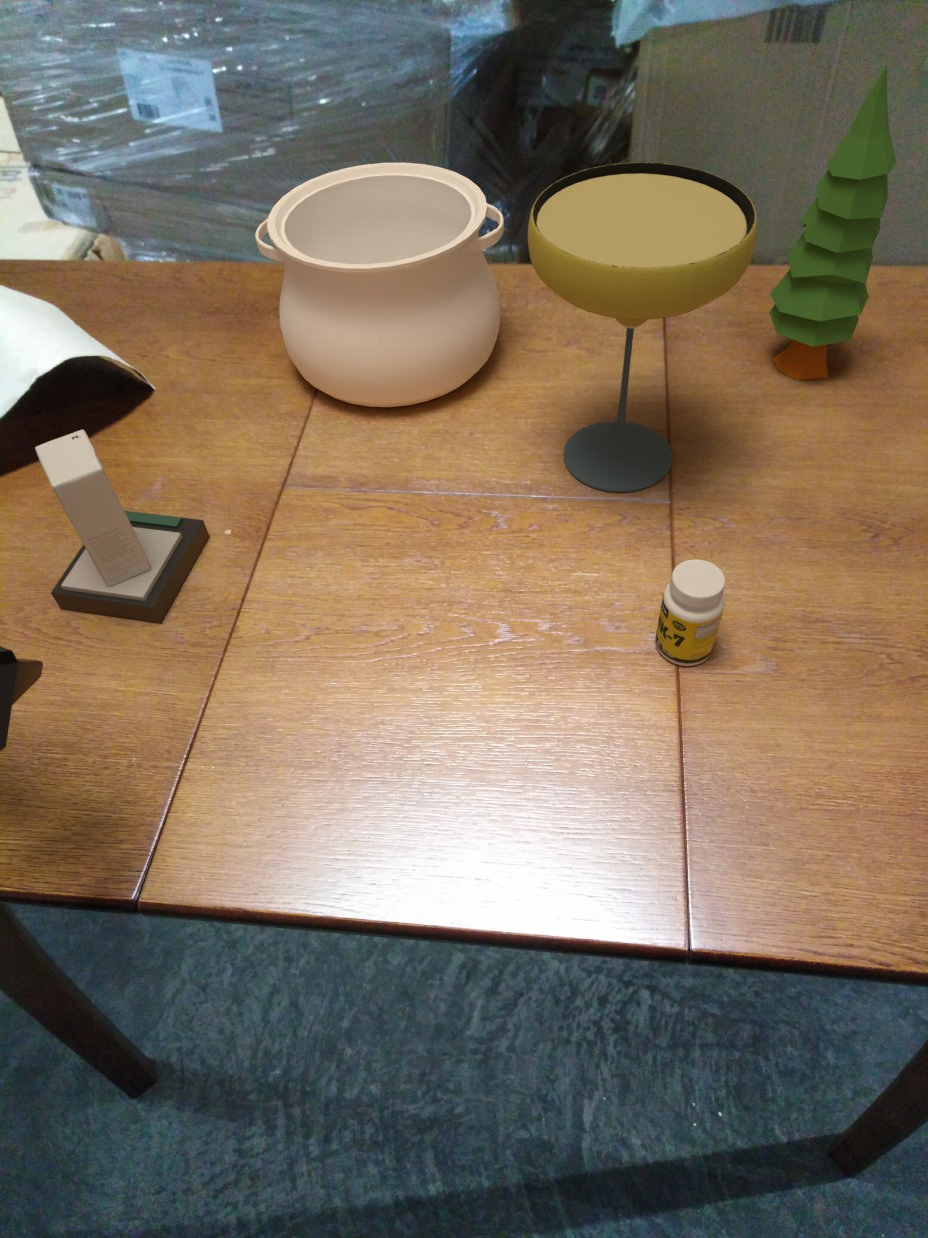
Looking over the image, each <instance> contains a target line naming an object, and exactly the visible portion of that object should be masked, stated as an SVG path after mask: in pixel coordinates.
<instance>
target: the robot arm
mask: <svg viewBox="0 0 928 1238" xmlns="http://www.w3.org/2000/svg"><path fill="white" fill-rule="evenodd" d="M43 666H44V663H43V661H41V660H38V659H37V660H36V659H29V658H28V659H27V658H17V657H16V655H15V653H14V651H13V650H12V649H9V648H7V647H3V646H2V645H0V752H1V751H3V750H4V749H6V748H7V742H8V736H9V730H10V729H9V728H10V723H11V715H12V709H13V708H12V707H13V705H14V704H16V703H17V701H18V700H19V699H21V698H22V696H24V694H26V692H27V691H28V690H30V689H31V687H32V686H33V685H35V684H36V683H37V682H38V680H39V679H40V678H41V677H42V675H43V668H44V667H43Z"/></svg>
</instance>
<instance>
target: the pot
mask: <svg viewBox="0 0 928 1238" xmlns="http://www.w3.org/2000/svg"><path fill="white" fill-rule="evenodd" d="M486 218H488V219H491V220H493V221H494V222H497V224H498V226H497V228H495V229H493V230H492V231H490V232H488V233H485V234H484V235H481V236H479V231H480V230H481V228H482V227H483V225H484V223H485V221H486ZM504 230H505V222H504V215H503V213H502V212H501V211H500V210H499V208H497V207H496V206H494V205H492V204H489V203H487V199H486V196H485V194H484V192H483V191H482V189H481V188H480V187H479V186H478V185H477V184H476V183H474V182H473V181H472V180H471V179H470V178H468V177H467V176H464V175H462V174H460V173H459V172H456V171H454V170H450V169H447V168H444V167H440V166H436V165H431V164H430V165H429V164H425V163H417V162H416V163H415V162H377V163H368V164H367V163H366V164H361V165H354V166H350V167H345V168H340V169H337V170H333V171H330V172H327V173H324V174H322V175H321V174H320V175H318V176H316V177H314V178H311V179H309V180H307V181H305V182H303V183H301V184H299V185H297V186H294V188H293V189H291V190H290V191H288V192H287V193H285V194H284V195H283V196H282V197H281V198H280V199H279V200H278V201H277V202H276V203H275V205H274V206H273V207H272V209H271V211H270V212H269V214H268V216H267V218H266V219H264V221H263V222H261V223H260V224H259V226H257V229H256V230H255V235H254V237H255V242H256V246H257V249H258V250H259V253H260V254H261V255H262V256H263V257H265V258H268V259H270V260H274V261H276V262H281V263H284V276H283V281H282V285H281V291H280V294H279V305H278V306H279V307H278V308H279V309H278V310H279V312H278V313H279V314H278V315H279V328H280V332H281V336H282V338H283V342H284V346H285V349H286V352H287V353H286V354H287V355H288V357H289V359H290V360H291V361H292V363H293V364H294V366H295V367H296V369H297V371H298V372H299V374H301V376H302V377H303V379H304V380H305V381H307V382H308V383H309V384H310V385H311V386H313V387H314V388H316V389H317V390H319V391H321V392H323V393H324V394H326V395H328V396H330V397H332V398H334V399H336V400H339V401H342V402H345V403H349V404H352V405H357V406H364V407H371V408H394V407H395V408H397V407H405V406H412V405H415V404H420V403H425V402H429V401H432V400H434V399H437V398H440V397H442V396H445V395H447V394H449V393H451V392H452V391H455V390H457V389H458V388H459V387H461V386H463V384H465V383H466V382H468V381H469V380H470V379H471V378H473V376H474V375H475V374H476V373H478V372H479V371H480V369H482V367H483V366H484V365H485V364H486V363H487V361H488V360H489V358H490V356H491V354H492V352H493V350H494V347H495V345H496V342H497V339H498V336H499V332H500V326H501V301H500V296H499V291H498V287H497V283H496V279H495V275H494V273H493V270H492V269H491V267H490V265H489V262H488V260H487V259H486V256H485V254H484V252H483V251H484V250H487V249H489V248H491V247H492V246H494V245H495V244H497V243H498V242H499V240H500V239H501V238H502V237H503V236H504ZM267 234H268V236H269V239H270V242H271V243H272V245H273V246H271V245H269V244H267V243H265V242H264V241H263V240H264V237H265V236H266V235H267Z"/></svg>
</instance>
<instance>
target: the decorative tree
mask: <svg viewBox="0 0 928 1238" xmlns="http://www.w3.org/2000/svg"><path fill="white" fill-rule="evenodd" d="M889 123H890V122H889V105H888V64H885V66H884V68H882V71H881V73H880V74H879V76H878V77H877V78H876V81H875V82H874V84H873V85H872V86H871V88H870V90H869V92H868V93H867V95H866V97H865V99H864V101H863V103H862V105H861V106H860V109H859V111H858V113H857V114H856V117H855V119H854V121H853V123H852V124H851V127H850V128H849V130H848V132H847V133H846V135H845V136H844V138H843V139H842V141H841V142H840V144H839V145H838V146H837V148H836V149H835V151H834V153H833V154H832V156H831V157H830V159H829V160H828V162H827V163H826V165H825V166H826V167H827V170H826V171H825V173H824V174H823V176H822V177H821V178H820V180H819V181H818V183H817V184H816V195H817V196H816V198H815V199H814V200H813V201H812V203H811V205H810V206H809V207H808V209H807V210H806V212H805V213H804V214H803V215H802V217H801V218H800V220H799V221H798V223H799V225H800V226H799V227H800V228H801V227H802V228H804V231H803V232H802V234H801V235H800V237H799V238H798V239H797V240H796V242H795V243H794V244H793V246H792V248H791V249H790V250H789V251H788V253H787V254H786V257H787V262H788V266H789V269H788V270H787V272H786V273H785V274H784V275H783V276H782V278H781V279H780V280H779V282H778V283H777V284H776V285H775V287H774V288H773V289H772V290H771V292H770V293H769V294H770V296H771V298H772V300H773V303H774V305H773V306H772V308H771V309H770V311H769V316H770V319H771V322H772V324H773V327H774V330H775V333H776V335H779V336H780V337H781V336H782V337H783V338H784V337H785V338H787V339H790V340H792V342H791V344H790V345H789V346H788V347H787V348H785V349H784V350H782V351H780V353H778V354H777V355H776V356H774V357H773V358H772V359H771V360H772V362H773V364H774V365H775V367H776V368H777V370H778V371H779V372H780V373H782V374H784V375H786V376H788V377H790V378H792V379H794V380H796V381H806V380H820V379H822V380H823V379H829V373H828V362H827V353H828V349H827V345H830V344H831V345H833V344H838V343H843V342H849V341H851V340H852V337H853V335H854V333H855V331H856V327H857V325H858V322H859V321H860V319H859V318H860V317H859V316H861V315H862V313H863V311H864V308H865V306H866V304H867V302H868V300H869V296H870V295H869V292H868V288H867V282H868V279H869V278H868V277H869V273H870V270H871V267H872V263H873V258H874V255H873V249H872V248H873V245H874V244H875V241H876V240H877V237H878V235H879V233H880V230H881V218H882V217H883V214H884V211H885V208H886V205H887V202H888V199H889V192H888V191H889V190H888V189H889V186H888V184H889V181H888V176H889V175H888V174H889V173H890V172H891V171H892V169H894V166H895V165H896V164H897V158H896V154H895V149H894V145H893V140H892V137H891V132H890V124H889Z"/></svg>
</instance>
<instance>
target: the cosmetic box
mask: <svg viewBox="0 0 928 1238" xmlns="http://www.w3.org/2000/svg"><path fill="white" fill-rule="evenodd" d="M34 449H35V452H36V455H37V457H38V460H39V462H40V465H41V466H42V468H43V470H44V473H45V476H46V477H47V480H48V481H49V484H50V486H51V489H52V491H53V492H54V494H55V496H56V497H57V499H58V501H59V504H60V505H61V507H62V508H63V510H64V513H65V514H66V516H67V518H68V520H69V521H70V523H71V525H72V527H73V529H74V531H75V532H76V534H77V536H78V538H79V539H80V541H81V543H82V546H83V545H84V547H85V548H86V550H87V552H88V554H89V555H90V557H91V559H92V561H93V563H94V565H95V566H96V568H97V570H98V572H99V573H100V575H101V577H102V579H103V581H104V582H105V584H106V586H108V587H111V586H113V585H115V584H117V583H120V582H122V581H124V580H127V579H129V578H131V577H134V576H136V575H138V574H141V573H143V572H146V571H148V570H150V569H151V565H150V563H149V561H148V559H147V556H146V554H145V552H144V550H143V548H142V545H141V543H140V541H139V539H138V537H137V535H136V533H135V531H134V529H133V527H132V525H131V523H130V521H129V519H128V517H127V515H126V513H125V511H126V510H125V509H124V508H123V505H122V504H121V501H120V500H119V497H118V495H117V493H116V491H115V489H114V487H113V485H112V483H111V481H110V479H109V477H108V475H107V473H106V471H105V469H104V467H103V465H102V462H101V461H100V458H99V456H98V454H97V452H96V450H95V448H94V446H93V444H92V442H91V440H90V438H89V436H88V434H87V432H86V430H84V429H80V430H76V431H74V432H71V433H69V434H66V435H63V436H61V437H57V438H54V439H52V440H49V441H47V442H44V443H42V444H39V445H37V446H35V447H34Z"/></svg>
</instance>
